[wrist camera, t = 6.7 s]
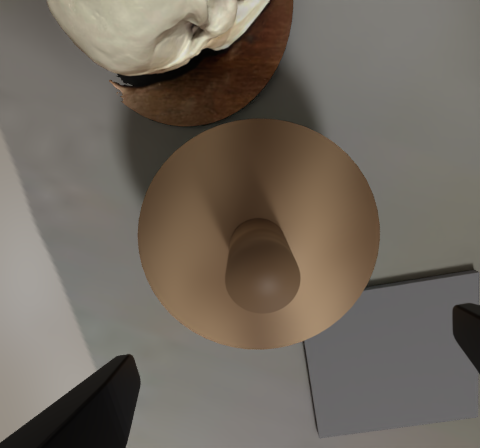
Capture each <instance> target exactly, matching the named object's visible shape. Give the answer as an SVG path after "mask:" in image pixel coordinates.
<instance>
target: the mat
mask: <svg viewBox="0 0 480 448" xmlns="http://www.w3.org/2000/svg"><path fill="white" fill-rule="evenodd" d="M464 303H473V304H477V305H479V272H478V271H476V270H471V271H464V272H458V273H452V274H446V275H440V276H433V277H427V278H421V279H415V280H409V281H402V282H396V283H390V284H384V285H378V286H371V287H365V289H364V291H363V292H362V294H361V296H360V297H359V298H358V300H357V301H356V302H355V303H354V305H353V306H352V307H351V308H350V309H349V310H348V311H347V312H346V313H345V314H344V315H343V316H342V317H341V318H340V319H339V320H338V321H337V322H335V323H334V324H333V325H331V326H330V327H329V328H327V329H325V330H324V331H322V332H321V333H319V334H317V335H315V336H313V337H311V338H309V339H307V340H304V345H305V351H306V358H307V364H308V371H309V377H310V384H311V390H312V397H313V403H314V410H315V416H316V422H317V429H318V435H319V438H325V437H333V436H340V435H348V434H355V433H363V432H370V431H378V430H385V429H393V428H400V427H408V426H415V425H423V424H431V423H438V422H446V421H453V420H461V419H468V418H476V417H478V371H477V369H476V368H475V367H474V365H473V364H472V363H471V361H470V360H469V358H468V357H467V356H466V354H465V353H464V352H463V350H462V349H461V347H460V346H459V345H458V343H457V342H456V340H455V338H454V336H453V328H452V309H453V307H454V306H455V305H458V304H464Z"/></svg>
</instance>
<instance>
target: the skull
mask: <svg viewBox="0 0 480 448" xmlns="http://www.w3.org/2000/svg"><path fill="white" fill-rule="evenodd" d="M46 1H47V4H48V7H49V9H50V11H51V13H52V15H53V16H54V18H55V19H56V20H57V22H58V23H59V25H60V26H61V28H62V29H63V30H64V31H65V33H66V34H67V35H68V36H69V37H70V39H71V40H72V41H73V43H74V44H75V45H76V46H77V47H78V48H79V49H80V50H81V51H83V52H84V53H85V54H86V55H87V56H88V57H89V58H90V59H92V60H93V62H95V63H96V64H98V65H100V66H101V67H103V68H105V69H107V70H109V71H111V72H113V73H116V74H118V77H121V80H123V82H124V83H126V84H127V83H129V84H131V85H133V86H127V85H120V84H119V83H115V82H112V80H109V82H111V83H112V84H113V85H114V86H115V87H116V89H117V88H118V89H119V90H121V92H122V95H123V96H120V97H122V98H124V99H123V103H124V104H125V105H126V106H128V107H129V108H131V109H132V110H134V111H135V112H137V113H139V114H140V115H142V116H144V117H146V118H149V119H151V120H154V121H157V122H160V123H163V124H168V125H174V126H199V125H205V124H209V123H213V122H216V121H219V120H221V119H224V118H226V117H228V116H230V115H232V114H234V113H235V112H237V111H239V110H240V109H242V108H243V107H244V106H245V105H247V104H248V103H249V102H250V101H252V100H253V99H254V98H255V97H256V96H257V95H258V94H259V93H260V91H261V90H262V89H263V88H264V87H265V85H266V84H267V83H268V81H269V80H270V79H271V77H272V75H273V74H274V72H275V70H276V68H277V66H278V64H279V62H280V60H281V58H282V56H283V53H284V51H285V48H286V44H287V41H288V37H289V33H290V28H291V22H292V14H293V0H46ZM117 93H118V92H117ZM117 93H116V94H117ZM119 93H120V92H119ZM121 102H122V101H121Z"/></svg>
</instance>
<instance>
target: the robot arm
mask: <svg viewBox="0 0 480 448" xmlns="http://www.w3.org/2000/svg"><path fill="white" fill-rule="evenodd" d="M452 328H453V336H454V338H455V340H456V342H457V343H458V345H459V346H460V347H461V349H462V350H463V352H464V353H465V354H466V356H467V357H468V358H469V360H470V361H471V363H472V364H473V365H474V367H475V368H476V369H477V371H478V372H479V374H480V305H477V304H473V303H464V304H458V305H455V306H454V307H453V309H452ZM139 389H140V376H139V373H138V369H137V366H136V363H135V360H134V357H133V356H132V355H131V354H127V355H120V356H116V357H115V358H114V359H112V360H111V361H110V362H108V363H107V364H106V365H104V366H103V367H102V368H100V369H99V370H97V371H96V372H95V373H93V374H92V375H91V376H90V377H88V378H87V379H86V380H84V381H83V382H82V383H80V384H79V385H77V386H76V387H75V388H73V389H72V390H71V391H69V392H68V393H67V394H65V395H64V396H62V397H61V398H60V399H58V400H57V401H56V402H54V403H53V404H52V405H50V406H49V407H48V408H46V409H45V410H44V411H42V412H41V413H40V414H38V415H37V416H36V417H34V418H33V419H32V420H30V421H29V422H28V423H26V424H25V425H23V426H22V427H21V428H19V429H18V430H17V431H16V432H14V433H13V434H11V435H10V436H9V437H7V438H6V439H5V440H3V441H2V442H1V443H0V448H126V444H127V441H128V437H129V433H130V429H131V424H132V420H133V416H134V411H135V407H136V403H137V398H138V394H139Z"/></svg>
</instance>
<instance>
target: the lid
mask: <svg viewBox="0 0 480 448" xmlns="http://www.w3.org/2000/svg"><path fill="white" fill-rule="evenodd" d="M379 241H380V224H379V217H378V210H377V206H376V203H375V199H374V196H373V193H372V191H371V189H370V187H369V184H368V182H367V180H366V178H365V177H364V175H363V174H362V172H361V171H360V169H359V167H358V166H357V165H356V164H355V163H354V161H353V160H352V159H351V158H350V157H349V156H348V154H347V153H345V152H344V151H343V150H342V149H341V148H340V147H339V146H337V145H336V144H335V143H334V142H332V141H331V140H329V139H328V138H326V137H325V136H323V135H321V134H320V133H318V132H315V131H313V130H311V129H309V128H307V127H305V126H301V125H298V124H295V123H291V122H288V121H282V120H275V119H246V120H238V121H233V122H229V123H225V124H222V125H218V126H216V127H214V128H211V129H209V130H207V131H204V132H202V133H200V134H199V135H197V136H195V137H194V138H192V139H190V140H189V141H187V142H186V143H185V144H184V145H182V146H181V147H180V148H179V149H177V150H176V151H175V152H174V153H173V154H172V155H171V156H170V157H169V158H168V159H167V160H166V162H165V163H164V164H163V165H162V167H161V168H160V169H159V171H158V172H157V174H156V175H155V176H154V178H153V180H152V182H151V184H150V186H149V188H148V190H147V192H146V195H145V198H144V201H143V204H142V207H141V212H140V217H139V224H138V246H139V254H140V258H141V263H142V267H143V270H144V272H145V275H146V278H147V280H148V282H149V284H150V286H151V288H152V290H153V292H154V293H155V295H156V296H157V298H158V299H159V301H160V302H161V304H162V305H163V306H164V307H165V308H166V309H167V310H168V312H169V313H170V314H171V315H172V316H173V317H175V318H176V319H177V320H178V321H179V322H180V323H181V324H183V325H184V326H186V327H187V328H189V329H190V330H192V331H193V332H195V333H197V334H199V335H200V336H202V337H204V338H206V339H209V340H211V341H214V342H217V343H219V344H223V345H227V346H231V347H236V348H243V349H272V348H279V347H284V346H289V345H292V344H295V343H299V342H302V341H304V340H307V339H309V338H311V337H313V336H315V335H317V334H319V333H321V332H322V331H324V330H325V329H327V328H329V327H330V326H331V325H333V324H334V323H335V322H337V321H338V320H339V319H340V318H341V317H342V316H343V315H344V314H345V313H346V312H347V311H348V310H349V309H350V308H351V307H352V306H353V305H354V303H355V302H356V301H357V300H358V298H359V297H360V296H361V294H362V292H363V291H364V289H365V287H366V285H367V284H368V282H369V279H370V277H371V275H372V272H373V270H374V266H375V263H376V259H377V256H378V249H379Z"/></svg>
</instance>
